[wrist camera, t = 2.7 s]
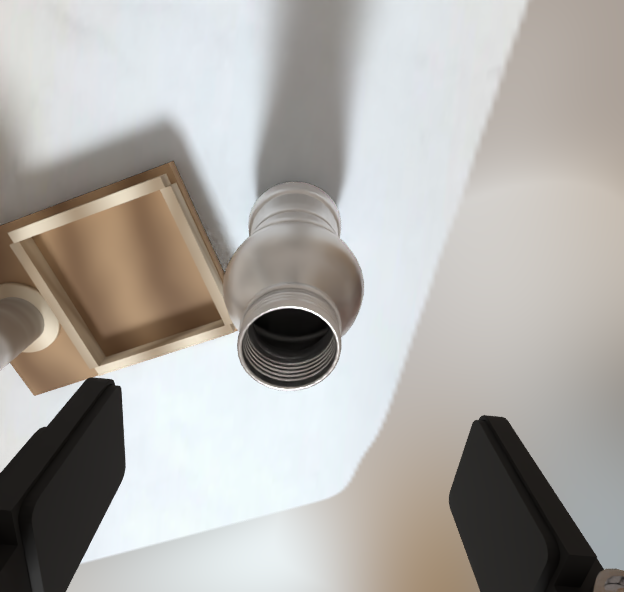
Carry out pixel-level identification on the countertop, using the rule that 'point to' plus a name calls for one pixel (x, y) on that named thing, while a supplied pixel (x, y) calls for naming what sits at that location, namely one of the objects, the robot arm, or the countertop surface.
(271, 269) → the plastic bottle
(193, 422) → the countertop surface
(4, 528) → the robot arm
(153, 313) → the board
